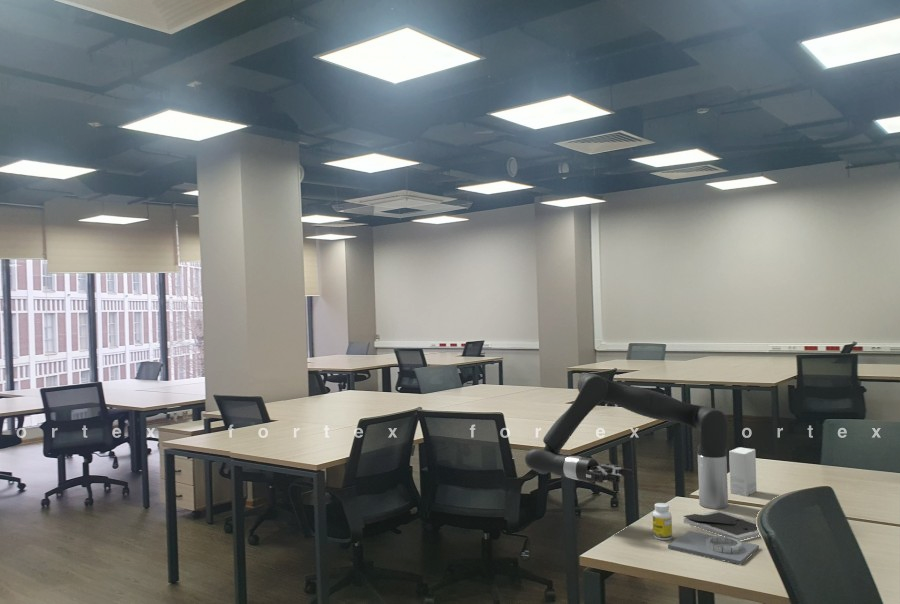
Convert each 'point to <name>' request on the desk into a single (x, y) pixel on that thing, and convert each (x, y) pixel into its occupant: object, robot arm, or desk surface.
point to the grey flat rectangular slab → (697, 545)
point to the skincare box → (742, 471)
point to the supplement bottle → (662, 522)
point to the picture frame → (724, 524)
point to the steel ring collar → (724, 549)
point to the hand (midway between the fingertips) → (626, 476)
